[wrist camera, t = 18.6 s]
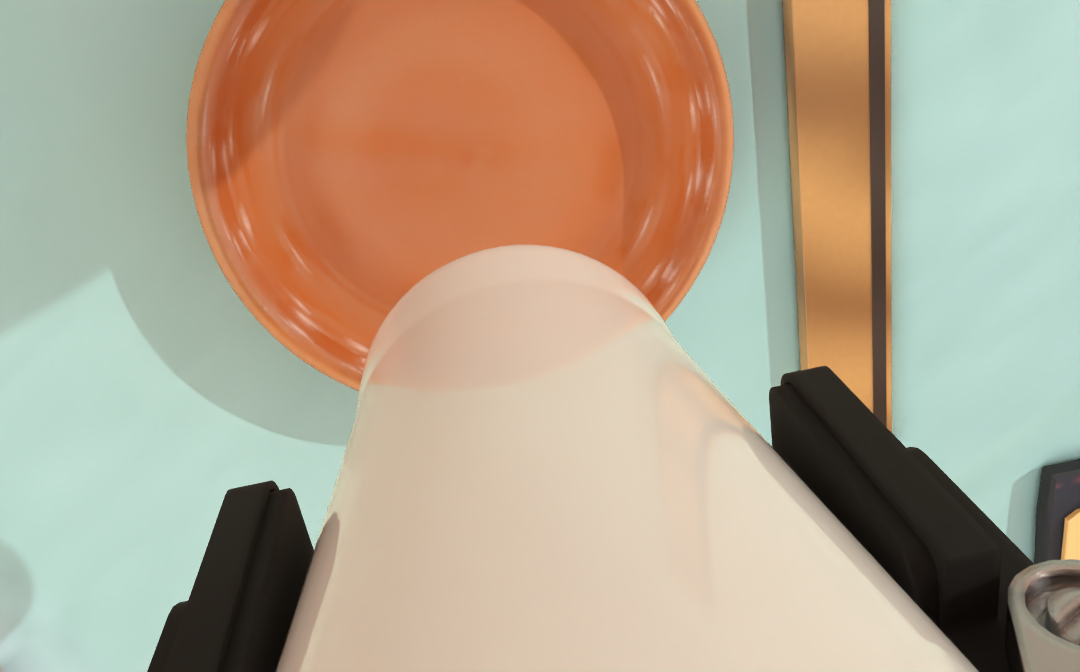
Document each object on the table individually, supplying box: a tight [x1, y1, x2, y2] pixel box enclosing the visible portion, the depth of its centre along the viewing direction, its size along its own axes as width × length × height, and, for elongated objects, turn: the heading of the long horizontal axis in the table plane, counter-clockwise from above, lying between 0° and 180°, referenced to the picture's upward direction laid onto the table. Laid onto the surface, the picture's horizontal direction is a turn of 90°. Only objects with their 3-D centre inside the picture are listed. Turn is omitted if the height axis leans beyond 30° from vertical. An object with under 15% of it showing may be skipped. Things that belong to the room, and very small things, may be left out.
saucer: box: [187, 0, 734, 391], centre depth 28 cm, size 16×16×3 cm
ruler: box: [783, 0, 892, 433], centre depth 29 cm, size 30×3×1 cm, turn 10°
